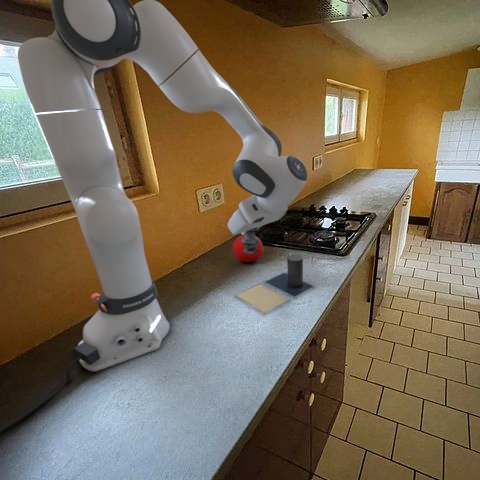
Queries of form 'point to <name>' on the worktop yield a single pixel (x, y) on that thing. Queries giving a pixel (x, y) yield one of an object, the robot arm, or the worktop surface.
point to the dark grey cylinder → (295, 271)
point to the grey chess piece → (250, 242)
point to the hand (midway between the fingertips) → (248, 230)
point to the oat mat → (262, 298)
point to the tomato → (243, 256)
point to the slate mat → (282, 284)
